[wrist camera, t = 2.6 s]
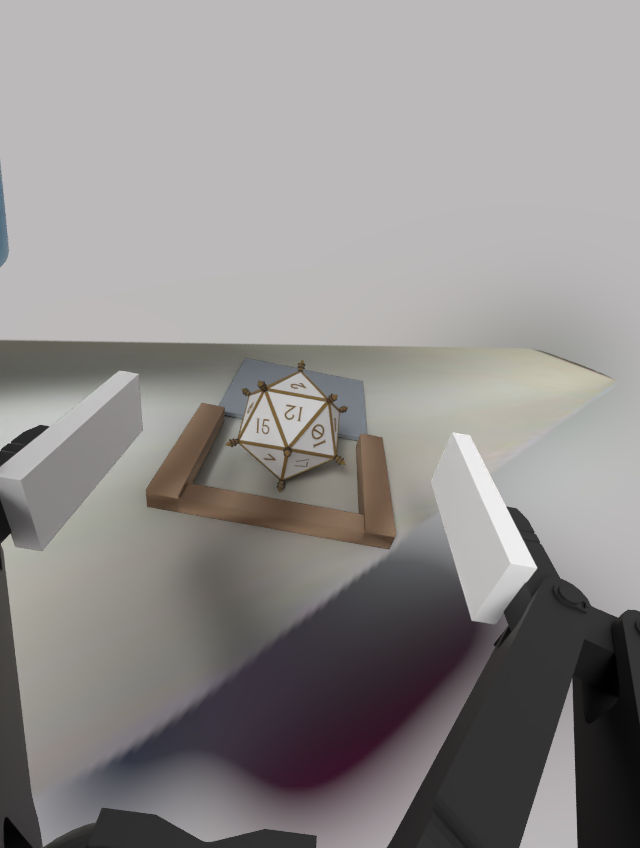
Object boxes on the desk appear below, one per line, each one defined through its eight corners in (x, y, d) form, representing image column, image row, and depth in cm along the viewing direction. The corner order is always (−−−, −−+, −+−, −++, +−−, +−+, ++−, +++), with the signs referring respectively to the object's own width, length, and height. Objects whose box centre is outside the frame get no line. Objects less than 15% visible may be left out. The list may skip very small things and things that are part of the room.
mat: (216, 413, 35) (216, 409, 35) (245, 361, 45) (245, 357, 45) (366, 442, 36) (367, 438, 35) (361, 384, 46) (362, 381, 45)
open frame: (147, 506, 25) (145, 489, 24) (201, 417, 34) (201, 402, 33) (389, 549, 25) (396, 534, 25) (377, 450, 35) (382, 437, 34)
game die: (270, 483, 34) (290, 373, 35) (357, 503, 30) (377, 376, 30) (191, 480, 26) (218, 339, 27) (293, 506, 22) (321, 337, 23)
